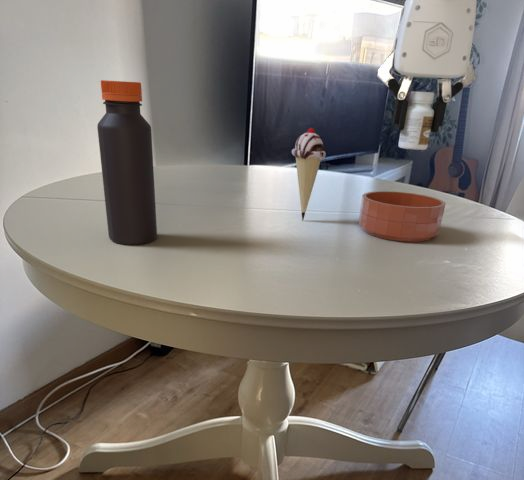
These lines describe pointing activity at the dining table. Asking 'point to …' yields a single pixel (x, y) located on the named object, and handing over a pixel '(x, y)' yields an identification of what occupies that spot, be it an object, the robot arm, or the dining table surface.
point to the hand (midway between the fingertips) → (416, 129)
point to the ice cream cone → (307, 164)
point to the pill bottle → (417, 121)
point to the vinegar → (127, 165)
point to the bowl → (401, 215)
